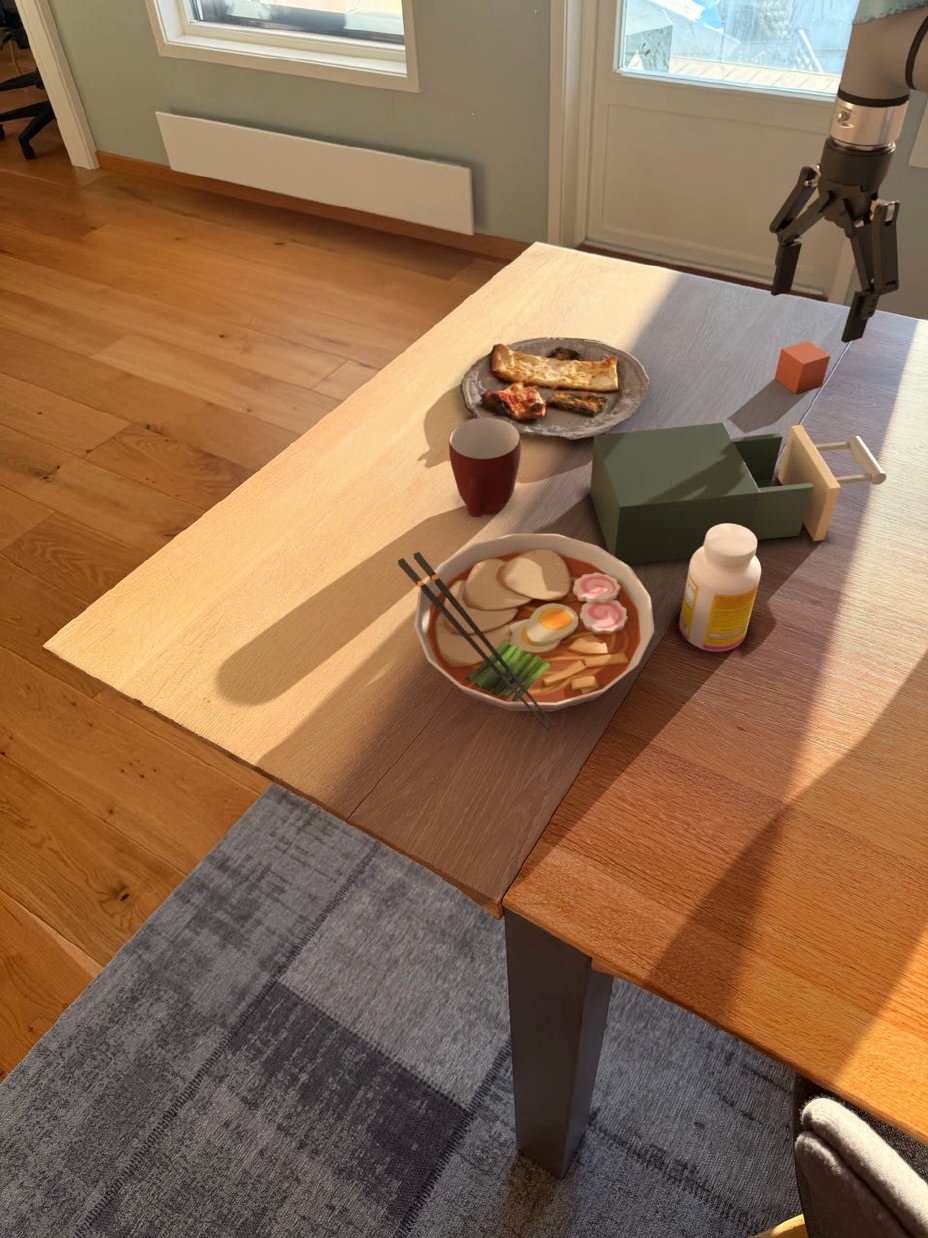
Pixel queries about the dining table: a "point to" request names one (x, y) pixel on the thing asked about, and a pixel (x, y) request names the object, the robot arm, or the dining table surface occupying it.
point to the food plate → (556, 386)
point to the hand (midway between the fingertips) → (814, 315)
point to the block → (802, 367)
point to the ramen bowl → (532, 620)
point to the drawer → (799, 482)
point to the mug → (485, 463)
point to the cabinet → (668, 490)
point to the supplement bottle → (721, 589)
